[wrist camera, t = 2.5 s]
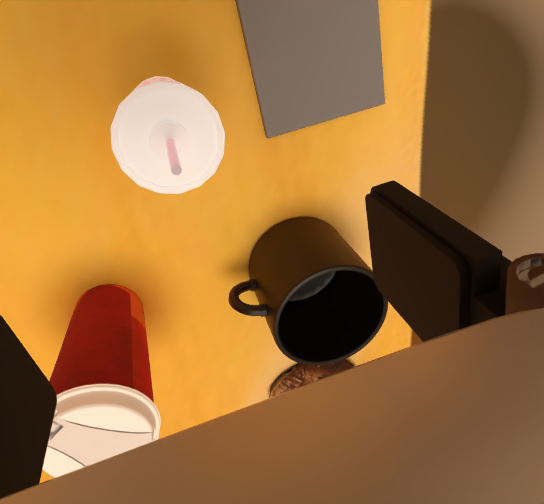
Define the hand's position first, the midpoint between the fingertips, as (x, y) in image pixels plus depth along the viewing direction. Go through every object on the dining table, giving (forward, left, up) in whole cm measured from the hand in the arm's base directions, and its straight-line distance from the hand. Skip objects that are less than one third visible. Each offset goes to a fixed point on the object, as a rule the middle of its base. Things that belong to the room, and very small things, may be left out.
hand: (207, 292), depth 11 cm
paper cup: (+15, -10, -24) cm, 30 cm away
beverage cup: (0, 0, -24) cm, 24 cm away
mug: (+16, +6, -24) cm, 29 cm away
